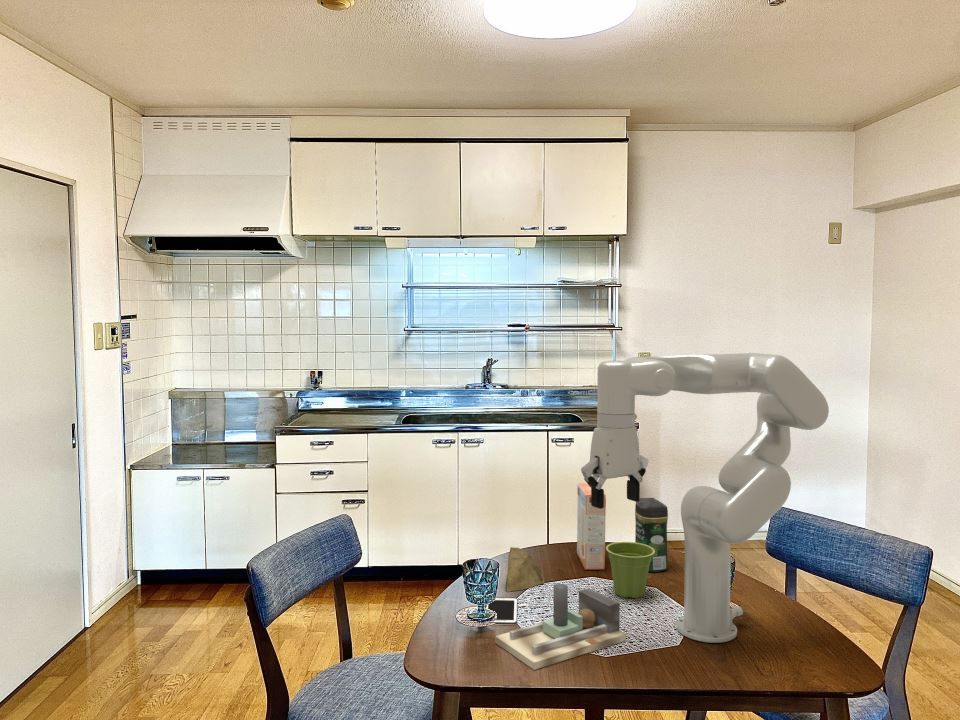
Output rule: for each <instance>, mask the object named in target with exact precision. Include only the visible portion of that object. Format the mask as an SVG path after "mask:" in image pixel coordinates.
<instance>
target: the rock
mask: <svg viewBox="0 0 960 720" xmlns="http://www.w3.org/2000/svg"><path fill="white" fill-rule="evenodd" d="M509 548H510V549H509V555H508V558H507V559H508V561H507V562H508V563H507V564H508V565H507V574H506V582H505V591H506V593H509V592H515V591H517V592H518V591H523V590H526V589H530V588H532V587H535V586H537V585H541V584H545V579H544V576H543V573H542V570H541V568H540V566H539V565H538V564H537V563H536V561H535V560H534V559H533V557H532V556H531V554H530V553H528V552H526V551H525V550H523V549H522V548H520V547H513V546H511V547H509Z"/></svg>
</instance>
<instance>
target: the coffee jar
mask: <svg viewBox="0 0 960 720" xmlns="http://www.w3.org/2000/svg"><path fill="white" fill-rule="evenodd" d="M634 505H635V509H634V516H635V517H634V519H635V520H634V521H635V530H634V531H635V543H641V544H645V545H648V546H650V547H652V548H653V549H654V550H655V553H654V555H652V560H651V563H650V566H649V571H648V572H652V573H659V572H662V571H665V570H667V569H668V520H669V519H668V518H669V512H668V506H667V505H666V504H664V503H663V502H662V501H659V500H657V499H656V498H655V497H641V498H640V500H639V502H635V504H634Z"/></svg>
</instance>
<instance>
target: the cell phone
mask: <svg viewBox="0 0 960 720" xmlns="http://www.w3.org/2000/svg"><path fill="white" fill-rule="evenodd" d="M517 605H518V598H517V597H513V596H512V597H507V596H506V597H505V596H504V597H501V596H499V597H498V596H496V599H495V601H494V602H492V603H490V604H488V605H487V608H488V609H490V610H493V611H495V612H496V613H497V619H495V621H494V622H489V623H496V624H516V623H517V624H518V606H517ZM517 624H516V625H517Z"/></svg>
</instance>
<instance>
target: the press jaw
mask: <svg viewBox="0 0 960 720" xmlns="http://www.w3.org/2000/svg"><path fill="white" fill-rule="evenodd" d="M568 589H569V587H568V584H564V583H556V584H553V591H552V592H553V595H552V597H553V603H552V605H553V610H552V611H553V618H550V619H545V620H542V622H543V632H545V633H547V634H548V635H550V636H551V637H553V638H555V639H556V638H560V637H563V636H566V635H570V634H573V633H576V632H580V631H583V616H581V615H579V614H577V613H576V612H575V611H573V610H572V609H569V606H568V605H569V603H568V602H569V600H568V599H569V597H568V596H569V590H568Z"/></svg>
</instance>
